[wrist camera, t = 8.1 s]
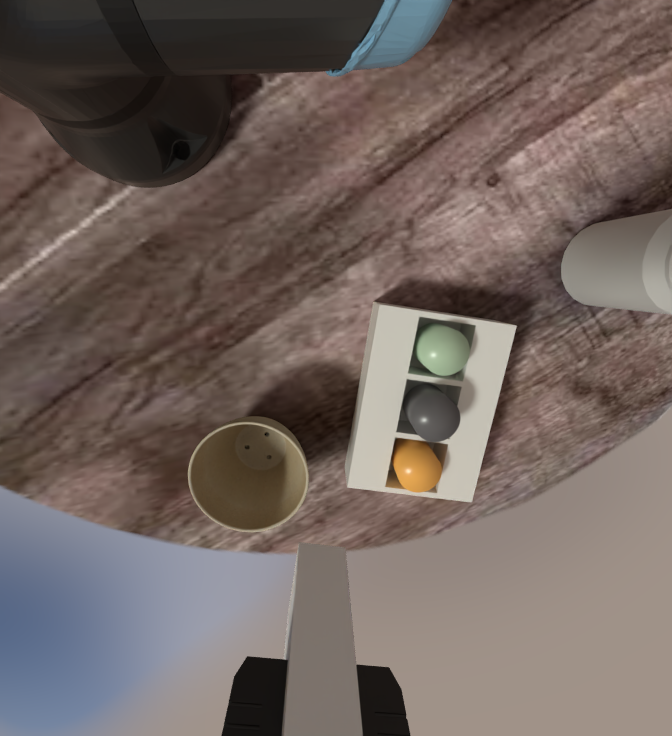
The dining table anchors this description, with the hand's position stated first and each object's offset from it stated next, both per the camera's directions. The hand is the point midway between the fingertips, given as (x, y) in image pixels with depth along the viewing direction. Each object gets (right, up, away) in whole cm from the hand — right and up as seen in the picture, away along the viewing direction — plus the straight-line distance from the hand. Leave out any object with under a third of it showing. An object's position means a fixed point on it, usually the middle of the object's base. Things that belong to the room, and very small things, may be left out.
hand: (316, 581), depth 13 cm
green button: (+10, +9, +24) cm, 28 cm away
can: (+25, +17, +25) cm, 39 cm away
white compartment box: (+9, +4, +27) cm, 28 cm away
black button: (+9, +3, +24) cm, 26 cm away
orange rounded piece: (+8, -2, +27) cm, 28 cm away
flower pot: (-7, -1, +27) cm, 28 cm away
